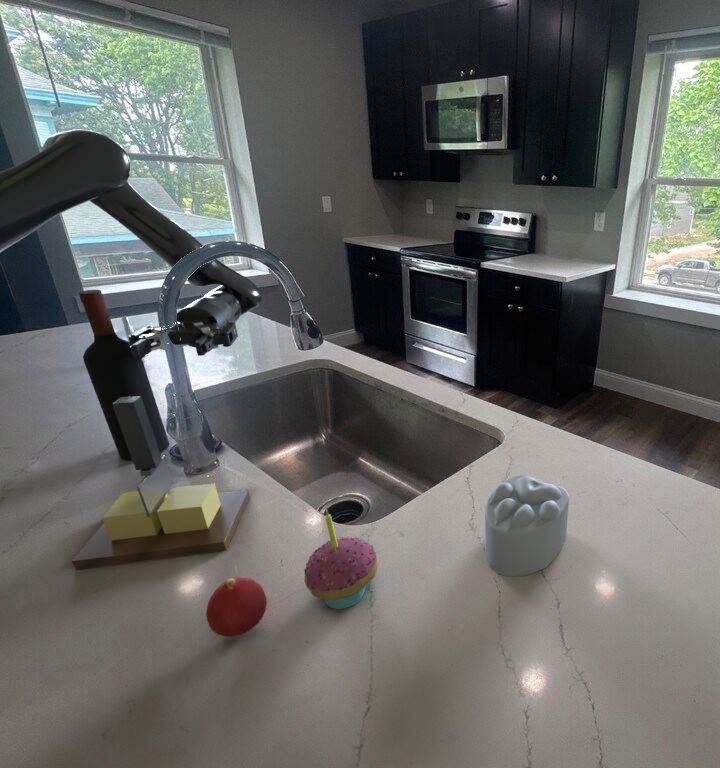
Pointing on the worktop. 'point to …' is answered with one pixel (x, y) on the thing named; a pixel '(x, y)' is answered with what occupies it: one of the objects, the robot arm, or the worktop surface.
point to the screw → (129, 330)
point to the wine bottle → (117, 373)
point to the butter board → (166, 539)
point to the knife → (143, 451)
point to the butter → (163, 513)
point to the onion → (236, 607)
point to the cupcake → (340, 569)
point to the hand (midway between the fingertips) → (167, 351)
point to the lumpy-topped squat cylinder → (525, 525)
